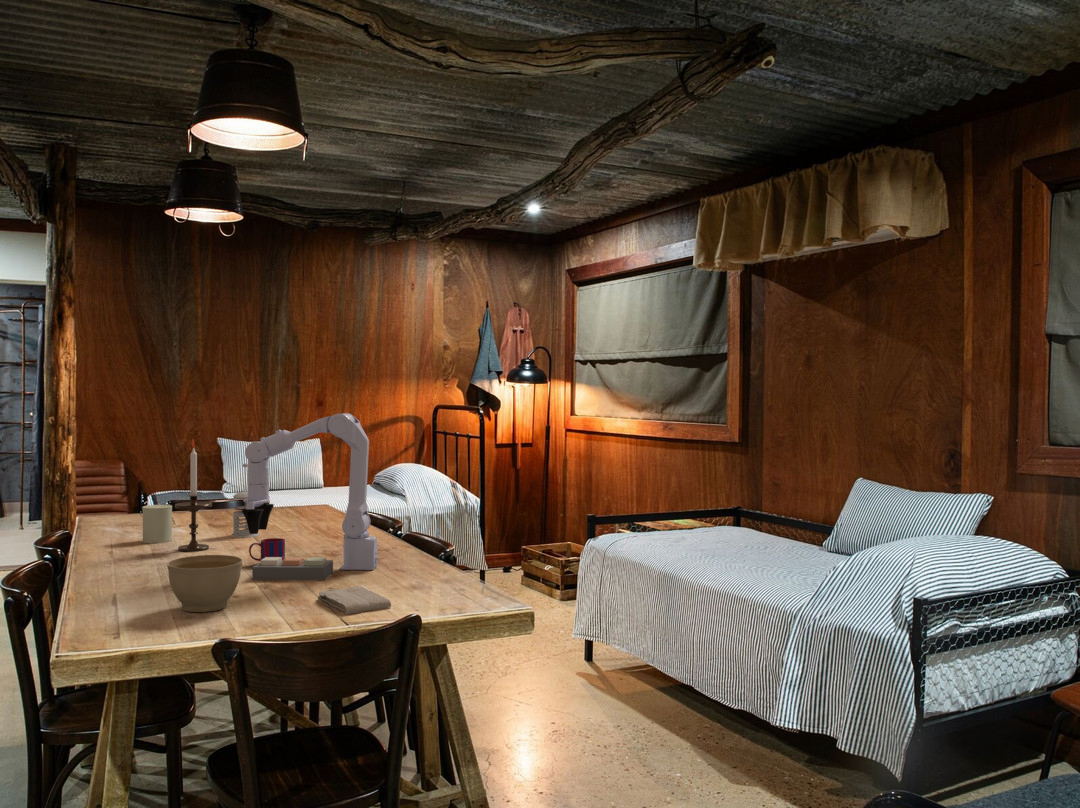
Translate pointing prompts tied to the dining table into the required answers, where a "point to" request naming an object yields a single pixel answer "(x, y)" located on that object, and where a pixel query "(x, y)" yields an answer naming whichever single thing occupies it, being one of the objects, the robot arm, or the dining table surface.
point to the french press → (237, 514)
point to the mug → (270, 548)
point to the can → (157, 523)
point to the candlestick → (193, 508)
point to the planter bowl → (204, 581)
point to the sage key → (315, 561)
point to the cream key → (271, 561)
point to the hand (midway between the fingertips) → (258, 531)
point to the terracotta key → (293, 561)
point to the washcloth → (353, 600)
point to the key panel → (292, 572)
